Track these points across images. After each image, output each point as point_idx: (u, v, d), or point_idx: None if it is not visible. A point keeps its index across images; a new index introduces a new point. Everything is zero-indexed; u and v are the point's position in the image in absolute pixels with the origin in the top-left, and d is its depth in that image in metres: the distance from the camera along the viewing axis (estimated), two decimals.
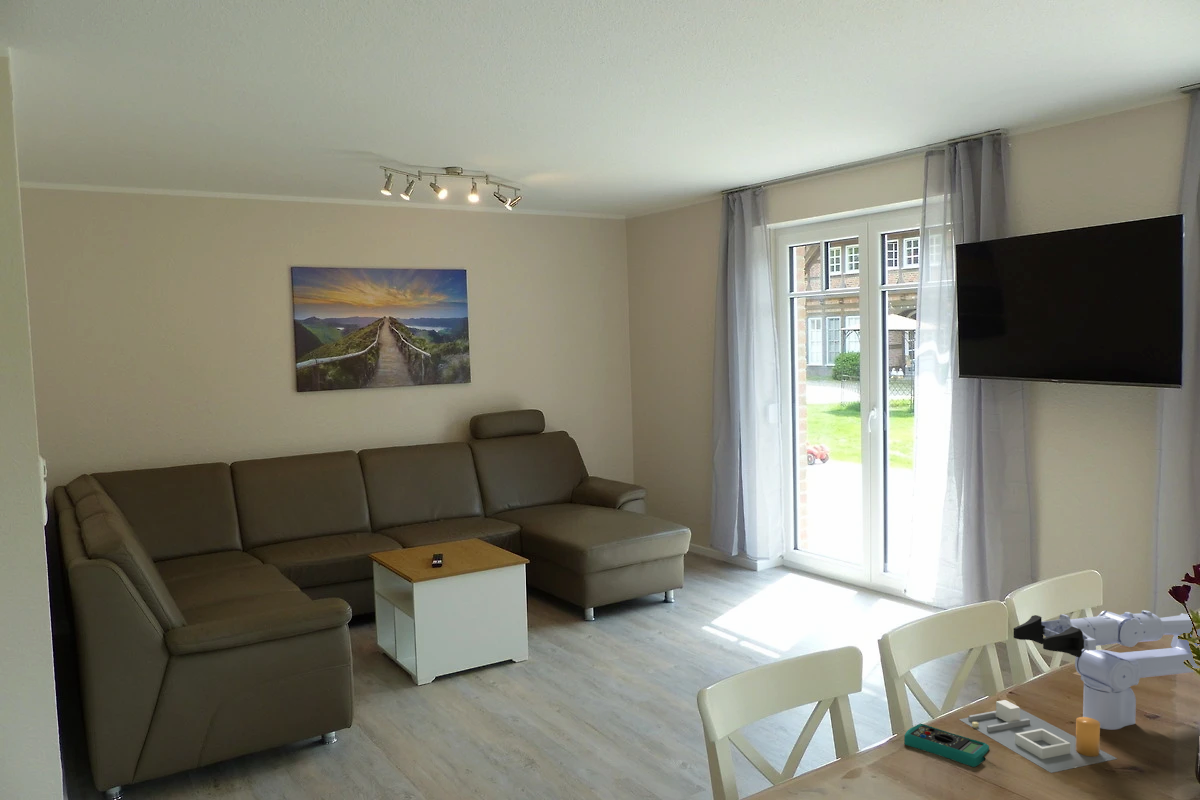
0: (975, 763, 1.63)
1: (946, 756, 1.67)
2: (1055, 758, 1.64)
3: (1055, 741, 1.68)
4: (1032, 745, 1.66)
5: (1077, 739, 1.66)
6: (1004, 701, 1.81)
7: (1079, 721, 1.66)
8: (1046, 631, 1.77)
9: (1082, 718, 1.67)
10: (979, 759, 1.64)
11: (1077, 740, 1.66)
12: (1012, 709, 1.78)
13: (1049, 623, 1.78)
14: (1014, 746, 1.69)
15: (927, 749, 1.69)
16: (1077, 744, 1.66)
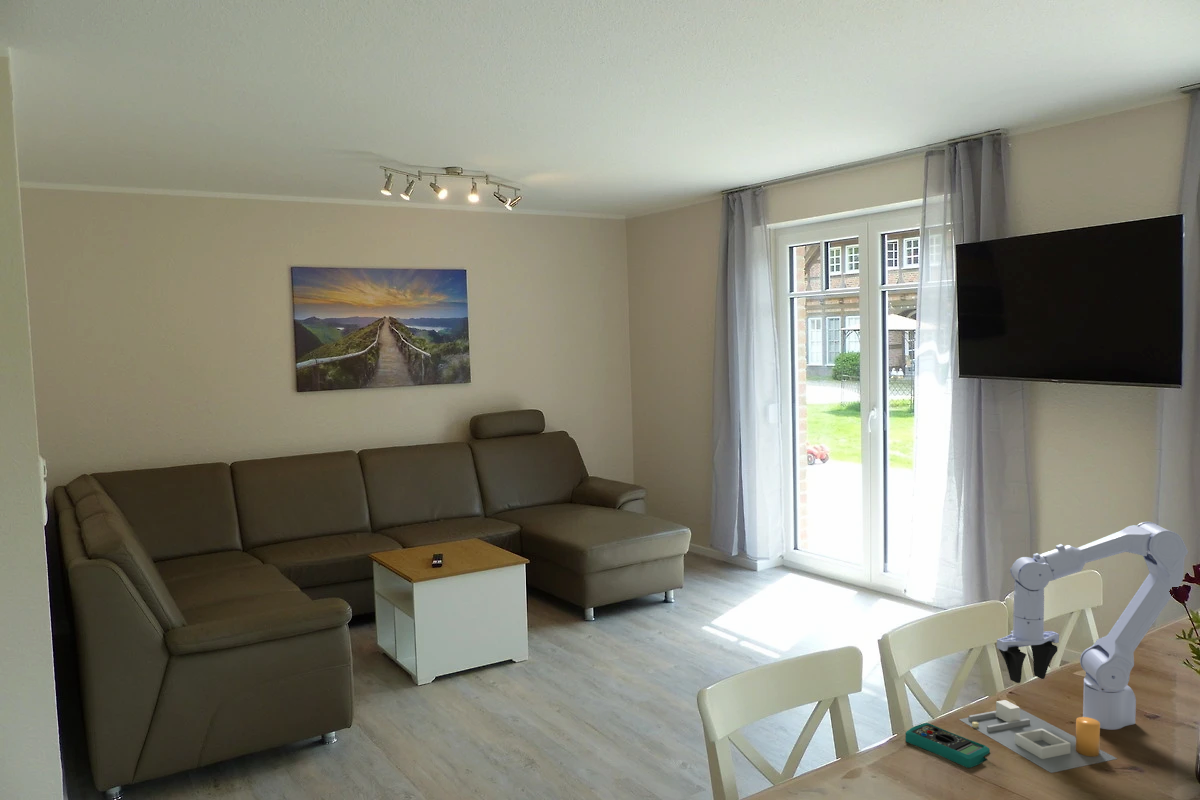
0: (970, 764, 1.63)
1: (942, 755, 1.67)
2: (1055, 758, 1.64)
3: (1055, 741, 1.68)
4: (1032, 745, 1.66)
5: (1077, 739, 1.66)
6: (1004, 701, 1.81)
7: (1079, 721, 1.66)
8: None
9: (1082, 718, 1.67)
10: (975, 760, 1.63)
11: (1077, 740, 1.66)
12: (1012, 709, 1.78)
13: None
14: (1014, 746, 1.69)
15: (926, 747, 1.70)
16: (1077, 744, 1.66)
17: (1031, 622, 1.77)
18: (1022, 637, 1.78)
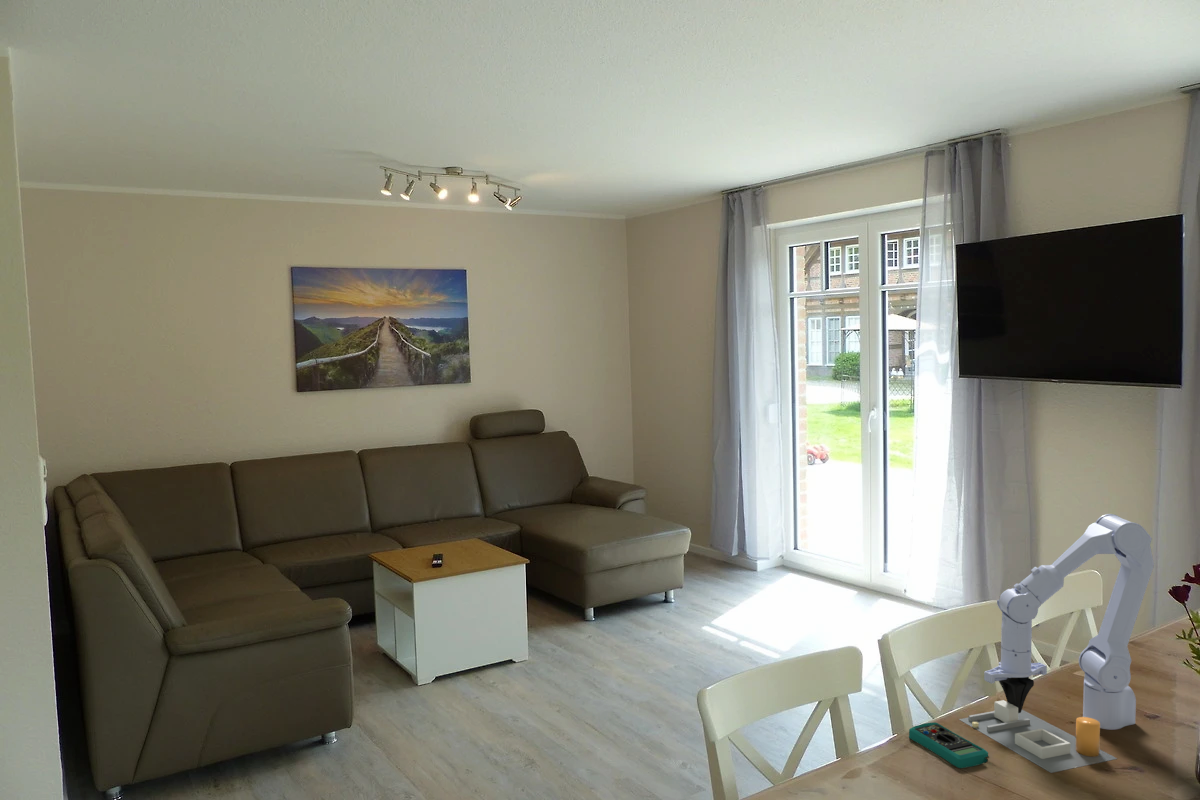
0: (960, 765, 1.63)
1: (938, 753, 1.68)
2: (1055, 758, 1.64)
3: (1055, 741, 1.68)
4: (1032, 745, 1.66)
5: (1077, 739, 1.66)
6: (1003, 701, 1.81)
7: (1079, 721, 1.66)
8: None
9: (1082, 718, 1.67)
10: (967, 762, 1.63)
11: (1077, 740, 1.66)
12: (1011, 710, 1.78)
13: None
14: (1014, 746, 1.69)
15: (925, 745, 1.71)
16: (1077, 744, 1.66)
17: (1018, 655, 1.77)
18: (1010, 670, 1.78)
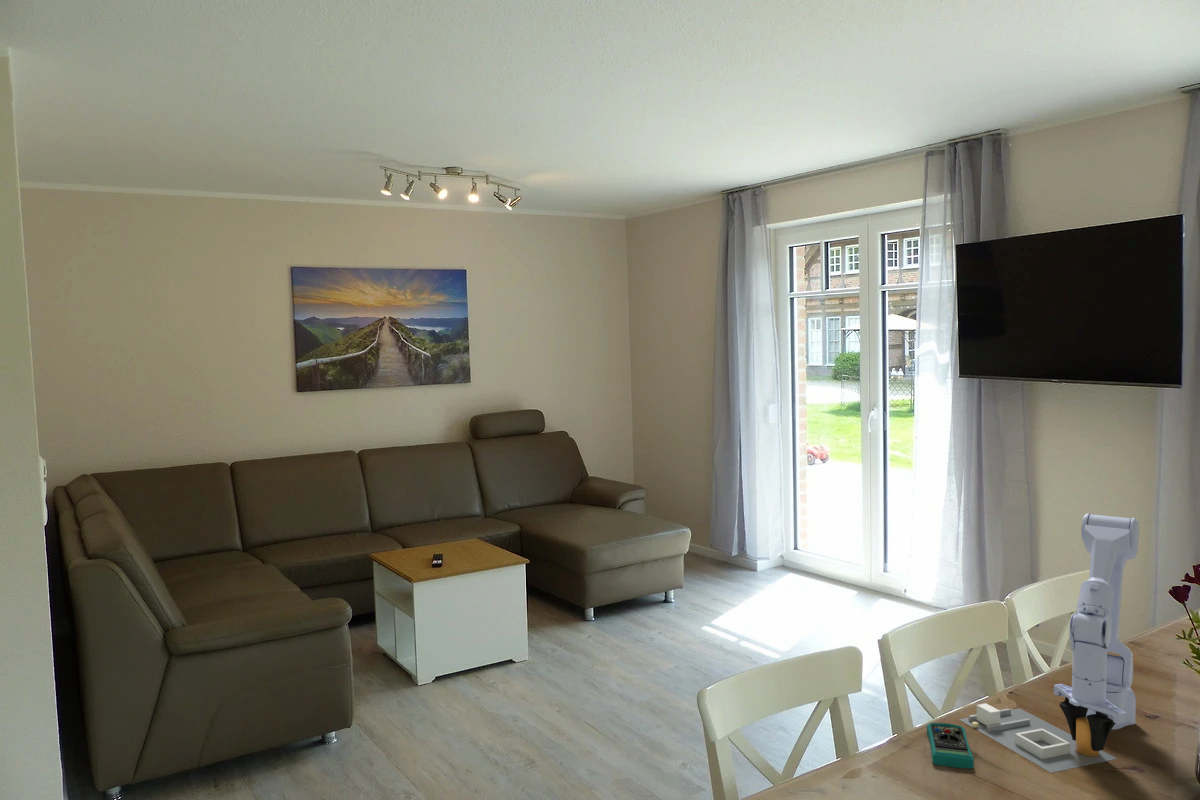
0: (935, 761, 1.64)
1: (931, 749, 1.70)
2: (1055, 758, 1.64)
3: (1055, 741, 1.68)
4: (1032, 745, 1.66)
5: (1077, 739, 1.66)
6: (985, 704, 1.80)
7: (1079, 721, 1.66)
8: None
9: (1082, 718, 1.67)
10: (943, 760, 1.64)
11: (1077, 740, 1.66)
12: (993, 713, 1.76)
13: None
14: (1014, 746, 1.69)
15: (929, 740, 1.73)
16: (1077, 744, 1.66)
17: None
18: (1105, 700, 1.63)
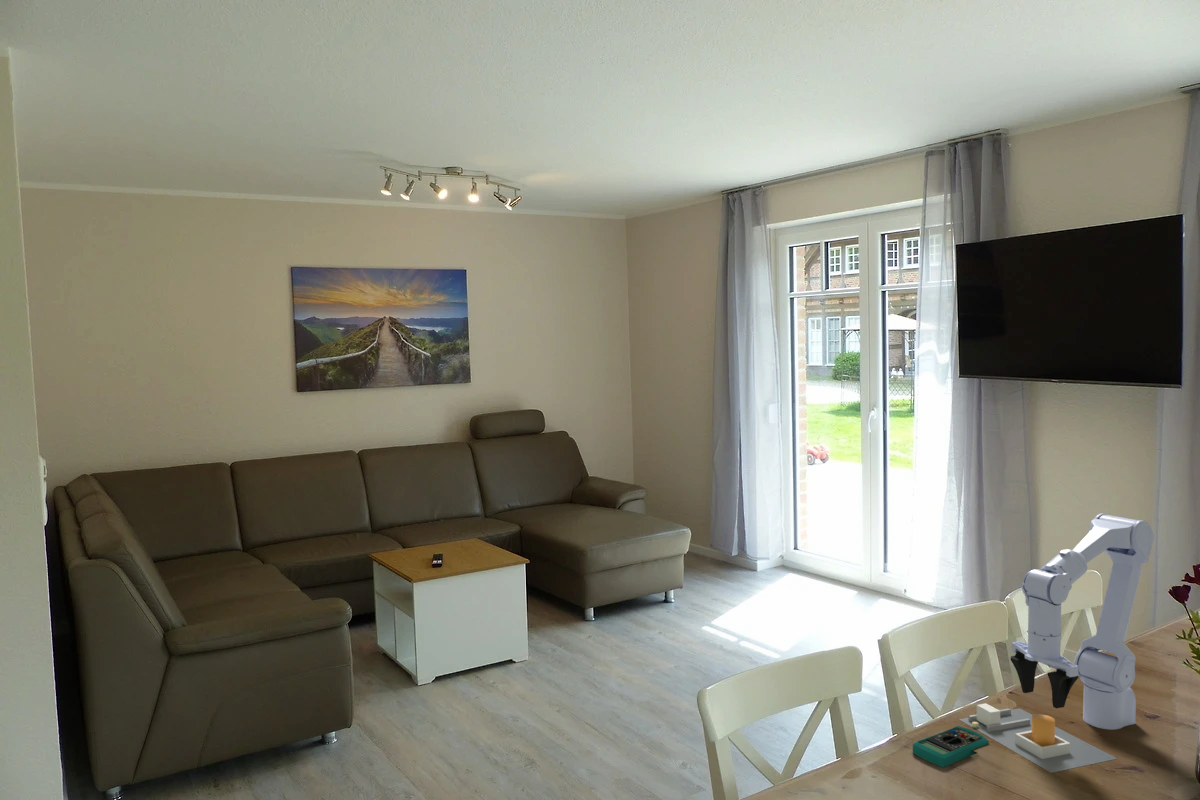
0: (913, 750, 1.69)
1: None
2: (1055, 758, 1.64)
3: (1055, 741, 1.68)
4: (1032, 745, 1.66)
5: (1032, 736, 1.67)
6: (985, 704, 1.80)
7: (1034, 718, 1.67)
8: None
9: (1038, 715, 1.68)
10: (919, 751, 1.67)
11: (1032, 737, 1.67)
12: (993, 713, 1.76)
13: None
14: (1014, 746, 1.69)
15: None
16: None
17: None
18: (1059, 655, 1.67)
